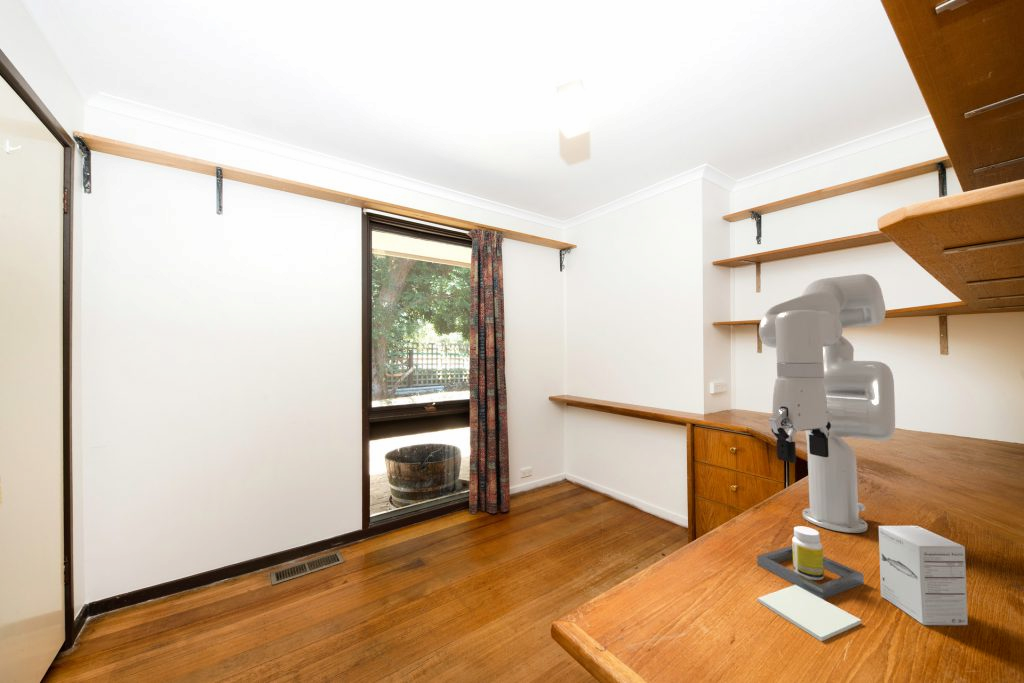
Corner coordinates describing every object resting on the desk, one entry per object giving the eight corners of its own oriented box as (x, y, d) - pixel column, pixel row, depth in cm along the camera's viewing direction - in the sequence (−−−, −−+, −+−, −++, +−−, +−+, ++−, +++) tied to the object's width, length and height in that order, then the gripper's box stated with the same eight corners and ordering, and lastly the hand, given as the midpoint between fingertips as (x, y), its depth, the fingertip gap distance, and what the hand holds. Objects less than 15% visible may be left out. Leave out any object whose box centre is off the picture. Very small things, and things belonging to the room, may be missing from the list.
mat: (795, 587, 70) (795, 584, 70) (861, 623, 61) (861, 619, 61) (757, 601, 67) (757, 597, 67) (821, 641, 57) (821, 637, 57)
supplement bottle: (830, 581, 72) (828, 536, 72) (805, 581, 72) (803, 536, 72) (810, 566, 77) (809, 524, 77) (787, 567, 77) (785, 525, 77)
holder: (796, 552, 82) (795, 544, 82) (863, 583, 71) (863, 574, 71) (757, 564, 78) (757, 555, 78) (823, 599, 67) (822, 589, 67)
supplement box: (878, 596, 67) (875, 524, 68) (921, 596, 67) (918, 524, 68) (922, 626, 60) (918, 545, 60) (971, 626, 60) (966, 545, 60)
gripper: (807, 370, 83) (810, 449, 82) (751, 372, 76) (754, 458, 76) (848, 371, 75) (852, 458, 75) (790, 374, 69) (793, 468, 69)
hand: (803, 458), depth 75 cm, fingers open, 9 cm apart
